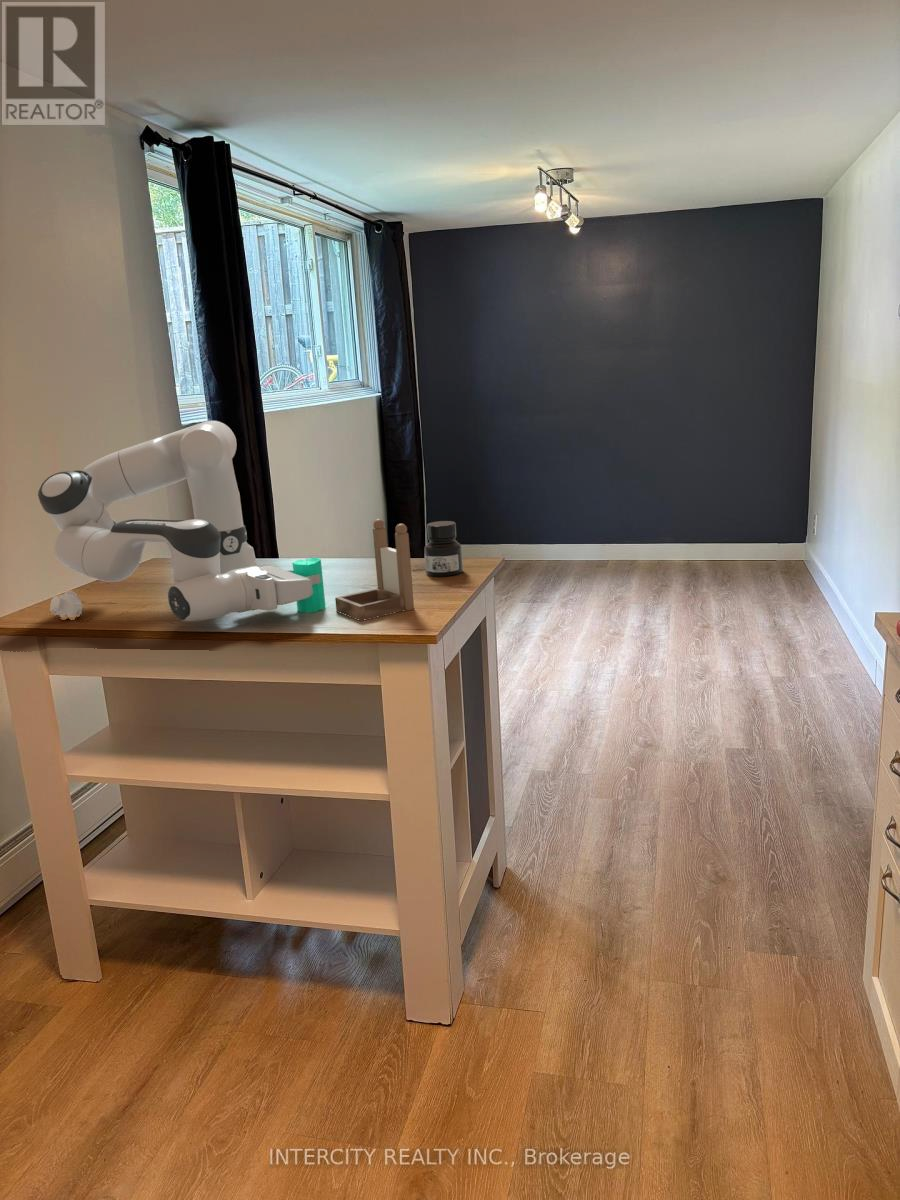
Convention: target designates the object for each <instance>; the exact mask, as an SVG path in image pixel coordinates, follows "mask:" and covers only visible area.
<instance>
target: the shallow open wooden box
mask: <svg viewBox="0 0 900 1200" xmlns="http://www.w3.org/2000/svg"><path fill="white" fill-rule="evenodd" d="M334 599H335V608H336V612H337V611H339V612H341V613H340V614H342V613H344V614H346V615H345V616H347V615H349V616H351V617H350V618H352V617H353V618H352V619H354V618H356V619H355V620H357V619H359V620H358V621H360V620H364V619H368V620H370V619H369V618H372V619H374V618H373V617H376V618H378V617H377V616H380V617H383V616H382V615H385V614H389V615H391V614H390V613H393V614H395V613H394V612H397V613H399V612H398V611H401V612H404V611H403V610H405V600H404V596H401V595H398V594H395V593H392V592H389V591H386V590H383V589H380V588H378V587H377V588H373V589H368V590H365V591H358V592H354V593H351V594H345V595H341V596H337V597H335V598H334ZM339 612H338V613H339ZM344 614H343V615H344ZM349 616H348V617H349ZM385 616H386V615H385ZM364 621H365V620H364Z"/></svg>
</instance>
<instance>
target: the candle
mask: <svg viewBox="0 0 900 1200" xmlns="http://www.w3.org/2000/svg"><path fill="white" fill-rule="evenodd" d="M291 563H292V570H293V572H294V574H297V575H300V576H303V577H308V576H310V575H315V574H318V575H320V578H321V582H320V583H317V584H313V585H312V591H313V594H312V595H311V596H310V597H308V598H306V599H302V600H299V601H296V608H297V609H296V610H297V611H298V612H300V613H316V612H320V611H319V610H321V611H322V609H323V610H325V609H326V607H325V606H326V597H325V589H324V587H325V586H324V578H323V568H322V567H323V566H322V559H321V558H319V557H310V558H307V555H305V559H296V560H294V562H291ZM324 608H325V609H324Z"/></svg>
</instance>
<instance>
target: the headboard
mask: <svg viewBox="0 0 900 1200" xmlns="http://www.w3.org/2000/svg"><path fill="white" fill-rule="evenodd" d="M372 527H373V528H372V536H373V538H372V539H373V547H374V548H373V549H374V559H375V568H376V569H375V570H376V582H377V583H376V584H377V588H380V589H383V590H386V591H389V592H392V593H395V594H398V595H401V596H404V600H405V610H407V611H410V610H409V609H411V610H414V609H415V601H414V589H413V578H412V564H411V552H410V537H409V533H408V532H407V531H408V527H407V526H406V525H405V523H399V524H398V523H397V525H396V526H395V527H394V528H395V533H394V540H395V542H394V543H395V548H394V547H393V548H392V547H388V540H387V539H388V538H387V530H386V527H385V522H384V519H381V518H377V519H374V521H373V523H372Z"/></svg>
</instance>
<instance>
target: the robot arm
mask: <svg viewBox="0 0 900 1200" xmlns="http://www.w3.org/2000/svg"><path fill="white" fill-rule="evenodd" d="M237 445H238V444H237V438H236V435H235V434H234V432H233V431H232V429H231V428H230V427H229V426H228V425H227V424H225V423H223V422H221V421H219V420H207V421H206V420H205V421H203V422H199V423H196V424H194V425H191V426H188V427H185V428H182V429H179V430H176V431H174V432H170V433H168V434H164V435H162V436H158V437H156V438H153V439H149V440H146V441H144V442H140V443H138V444H135V445H132V446H128V447H125V448H122V449H120V450H118V451H117V450H116V451H114V452H112V453H109V454H107V455H105V456H102V457H100V458H98V459H96V460H94V461H92V462H91V463H89V464H88V465H86V466H84V469H83V470H65V471H59V472H57V473H53V474H51V475H49V476H48V477H47V478H46V479H45V480H44V481H43V482H42V484H41V486H40V487H39V489H38V490H37V497H38V500H39V503H40V504H41V506H42V509H43V511H44V512H46V513H47V514H48V517H49V518H50V519H51V521H52V522H53V524H54V525H55V526H56V527H57V529H58V530H59V531H60V532H59V533H58V534H57V536H56V539H55V540H54V545H53V548H54V549H53V551H54V555H55V558H56V559H57V560H58V561H59V562H60V563H61V564H62V565H63V566H64V567H66V568H68V569H70V570H72V571H74V572H75V573H78V574H80V575H83V576H85V577H88V578H91V579H95V580H98V581H102V582H105V583H106V582H108V583H116V582H121V581H124V580H125V579H128V578H129V577H130V576H131V575H132V574H134V572H135V571H136V570H137V569H138V567H139V566H140V563H141V561H142V559H143V554H144V549H145V545H146V543H165V544H166V545H167V547H168V548H169V551H170V560H171V570H172V574H171V575H172V577H171V578H172V585H171V586H170V588H168V589H169V590H168V592H167V599H168V600H167V601H168V604H169V607H170V609H171V611H172V614H173V615H174V616H175V617H176V619H178V620H179V621H181V622H199V621H206V620H212V619H218V618H222V617H225V616H226V615H228V614H231V613H237V614H238V613H239V614H240V613H244V612H249V611H257V610H263V611H274V610H276V609H277V608H278V606H283V605H287V604H288V605H289V604H292V603H295V602H296V603H297V601H299V600H302V599H306V598H308V597H310V596H311V595H312V594H313V591H312V585H313V584H317V583H320V582H321V578H320V575H318V574H315V575H310V576H308V577H303V576H300V575H297V574H294V572H293V569H282V568H280V567H276V566H274V565H265V566H264V565H263V566H260V567H259V566H258V565H257V559H256V555H255V550H254V547H253V546H251V545H250V544H249V543H248V542H247V540H248V535H247V534H248V533H247V529H246V525H245V524H244V518H243V510H242V503H241V495H240V491H239V488H238V482H237V479H236V474H235V469H234V464H233V458H234V457H235V455H236V451H237V447H238V446H237ZM185 480H186V481H187V482H186V483H187V485H188V489H189V494H190V497H191V503H192V509H193V510H192V511H193V517H194V518H193V519H180V520H178V519H177V520H174V519H173V520H171V519H149V518H148V519H143V518H138V519H137V518H136V519H134V518H133V519H127V520H122V521H119V522H116V520H115V519H114V518H113V517H112V516H111V514H110V511H109V510H108V509H107V507H109V506H110V505H111V504H113V503H115V502H119V501H125V500H127V499H128V500H129V499H131V498H135V497H139V496H141V495H145V494H147V493H150V492H153V491H156V490H157V491H158V490H159V489H162V488H164V487H169V486H172V485H173V484H177V483H179V482H181V481H182V482H183V481H185Z"/></svg>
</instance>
